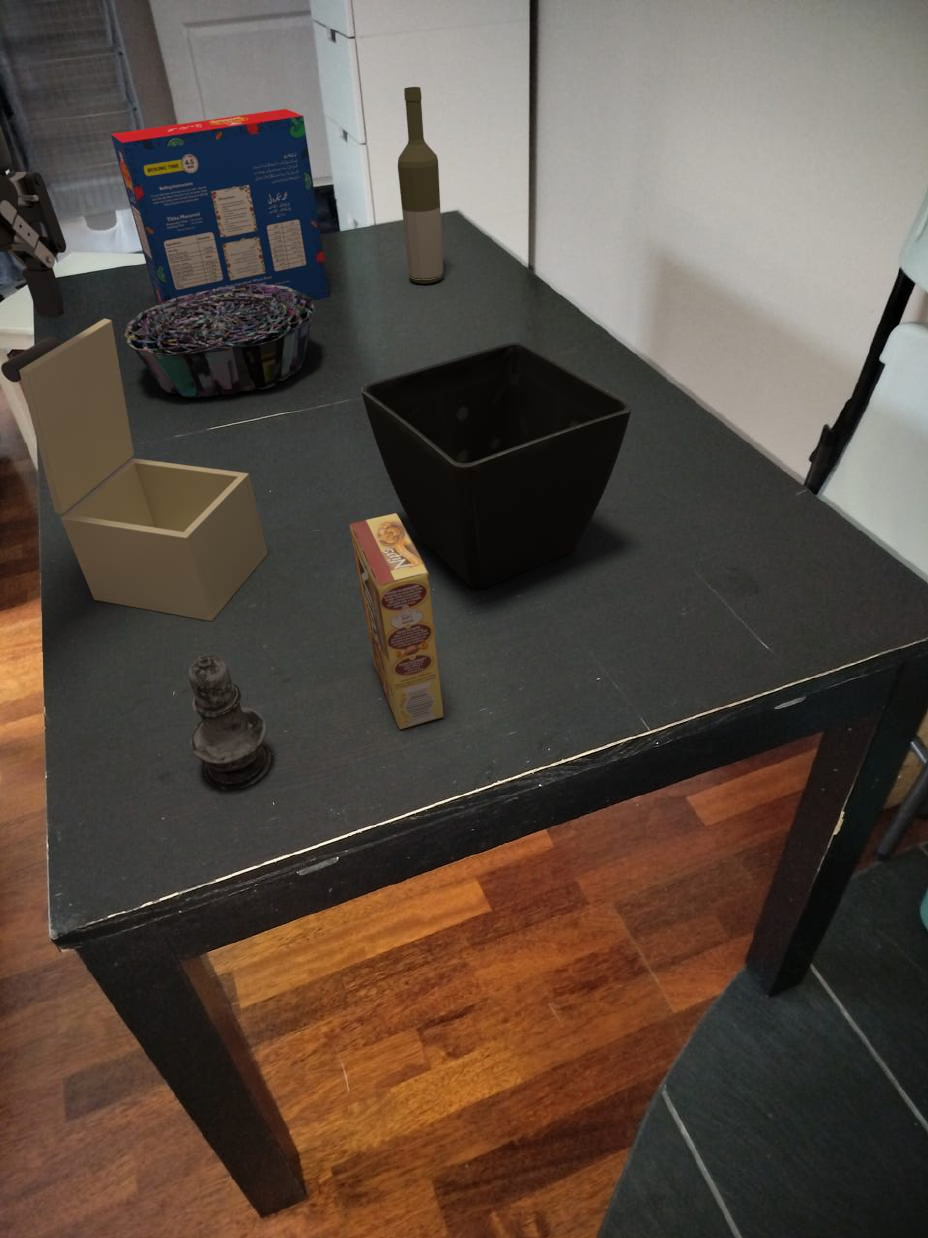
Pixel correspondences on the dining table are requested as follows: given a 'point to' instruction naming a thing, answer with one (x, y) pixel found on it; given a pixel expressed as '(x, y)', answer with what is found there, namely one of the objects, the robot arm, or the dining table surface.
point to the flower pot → (497, 456)
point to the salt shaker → (226, 728)
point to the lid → (75, 410)
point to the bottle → (420, 197)
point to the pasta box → (225, 204)
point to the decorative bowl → (224, 339)
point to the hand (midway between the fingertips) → (17, 334)
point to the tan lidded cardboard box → (168, 537)
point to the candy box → (399, 618)
